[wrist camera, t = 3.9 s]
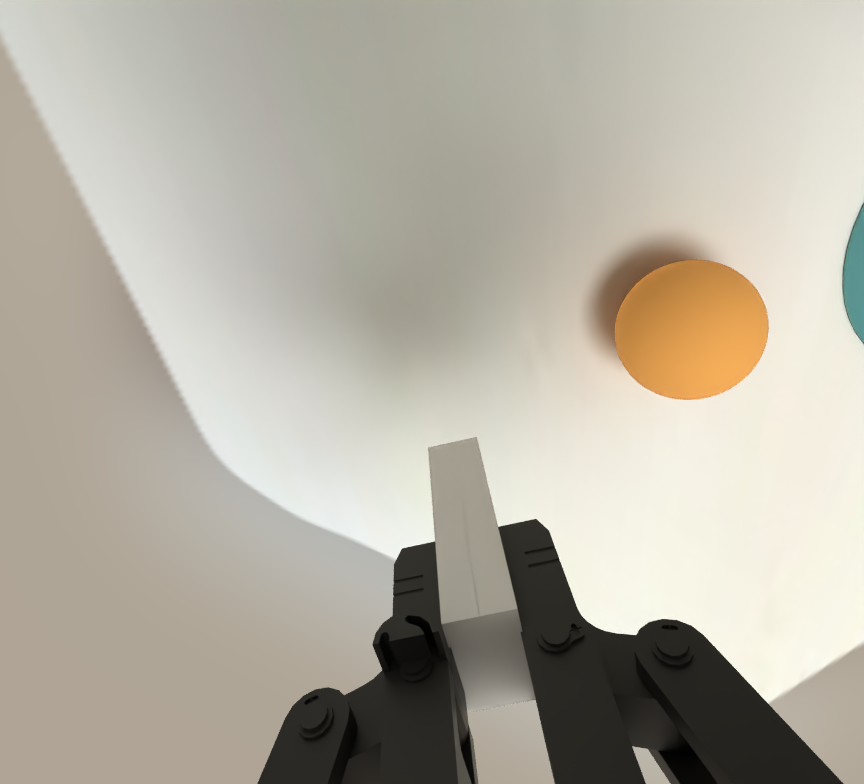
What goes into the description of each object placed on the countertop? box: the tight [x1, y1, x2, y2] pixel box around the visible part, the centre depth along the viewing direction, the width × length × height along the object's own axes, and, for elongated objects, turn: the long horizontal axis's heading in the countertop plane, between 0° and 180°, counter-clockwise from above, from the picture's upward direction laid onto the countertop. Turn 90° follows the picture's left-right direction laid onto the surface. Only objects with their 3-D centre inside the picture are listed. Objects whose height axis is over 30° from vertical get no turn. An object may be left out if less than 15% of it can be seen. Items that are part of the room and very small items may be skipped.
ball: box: [615, 260, 769, 400], centre depth 22 cm, size 6×6×6 cm
